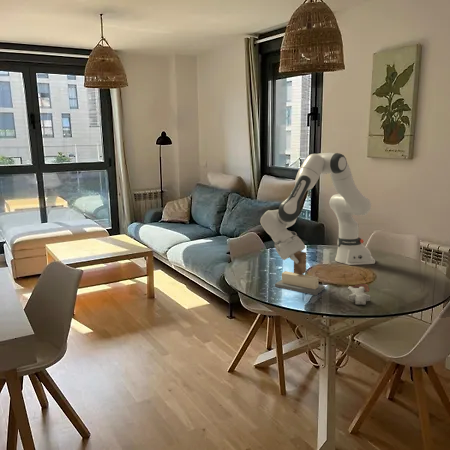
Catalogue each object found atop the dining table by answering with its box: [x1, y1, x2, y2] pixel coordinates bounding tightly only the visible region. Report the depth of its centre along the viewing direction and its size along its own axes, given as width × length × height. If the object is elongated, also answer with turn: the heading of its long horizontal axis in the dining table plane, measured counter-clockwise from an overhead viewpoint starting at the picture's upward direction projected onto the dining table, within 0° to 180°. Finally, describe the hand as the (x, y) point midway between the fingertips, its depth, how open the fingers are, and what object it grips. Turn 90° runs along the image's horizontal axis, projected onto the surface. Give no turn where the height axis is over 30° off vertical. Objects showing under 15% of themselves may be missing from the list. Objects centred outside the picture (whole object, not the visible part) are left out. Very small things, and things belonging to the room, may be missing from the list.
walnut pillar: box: [293, 251, 307, 275], centre depth 216 cm, size 4×4×10 cm
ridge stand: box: [274, 270, 326, 296], centre depth 218 cm, size 22×10×6 cm, turn 54°
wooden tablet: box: [351, 283, 370, 293], centre depth 224 cm, size 26×2×10 cm
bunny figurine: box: [347, 285, 372, 306], centre depth 201 cm, size 10×5×15 cm
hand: (301, 261), depth 215 cm, fingers closed on walnut pillar, 4 cm apart
